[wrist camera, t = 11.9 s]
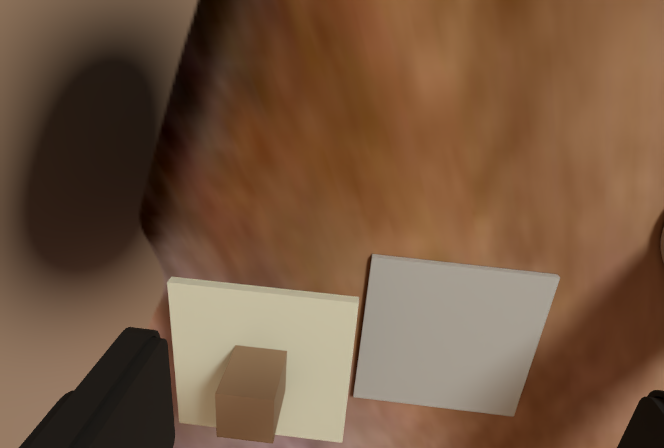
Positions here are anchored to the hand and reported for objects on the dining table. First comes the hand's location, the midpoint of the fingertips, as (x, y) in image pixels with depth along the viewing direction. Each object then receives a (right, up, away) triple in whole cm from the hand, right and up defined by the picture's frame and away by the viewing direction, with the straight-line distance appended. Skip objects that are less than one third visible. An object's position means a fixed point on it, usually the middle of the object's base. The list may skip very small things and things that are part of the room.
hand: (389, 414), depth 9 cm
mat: (+10, -7, +33) cm, 35 cm away
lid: (-7, -7, +27) cm, 29 cm away
